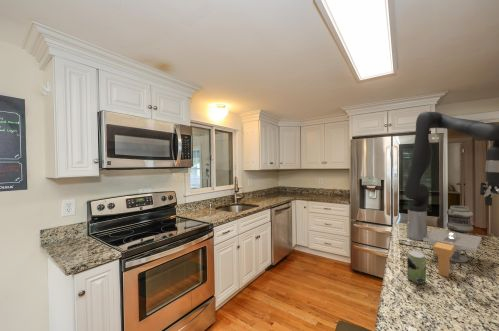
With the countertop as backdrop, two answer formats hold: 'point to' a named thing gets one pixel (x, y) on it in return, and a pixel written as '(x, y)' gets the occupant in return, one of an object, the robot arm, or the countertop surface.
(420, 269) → the beverage can
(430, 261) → the countertop surface
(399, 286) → the countertop surface
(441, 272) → the orange block
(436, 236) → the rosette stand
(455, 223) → the apothecary jar
